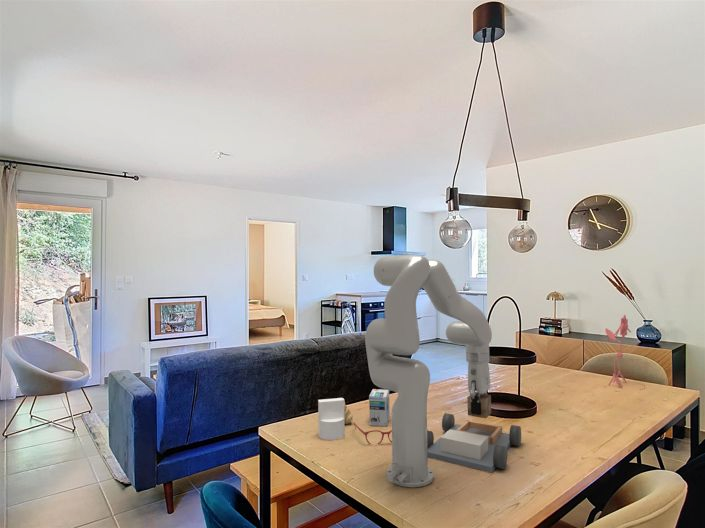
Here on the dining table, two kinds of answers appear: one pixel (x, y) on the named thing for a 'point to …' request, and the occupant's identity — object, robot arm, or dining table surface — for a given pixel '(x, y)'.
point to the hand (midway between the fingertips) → (479, 410)
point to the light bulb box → (379, 407)
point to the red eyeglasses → (373, 431)
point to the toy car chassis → (473, 444)
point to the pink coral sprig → (623, 332)
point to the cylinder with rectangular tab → (331, 418)
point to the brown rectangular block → (485, 406)
